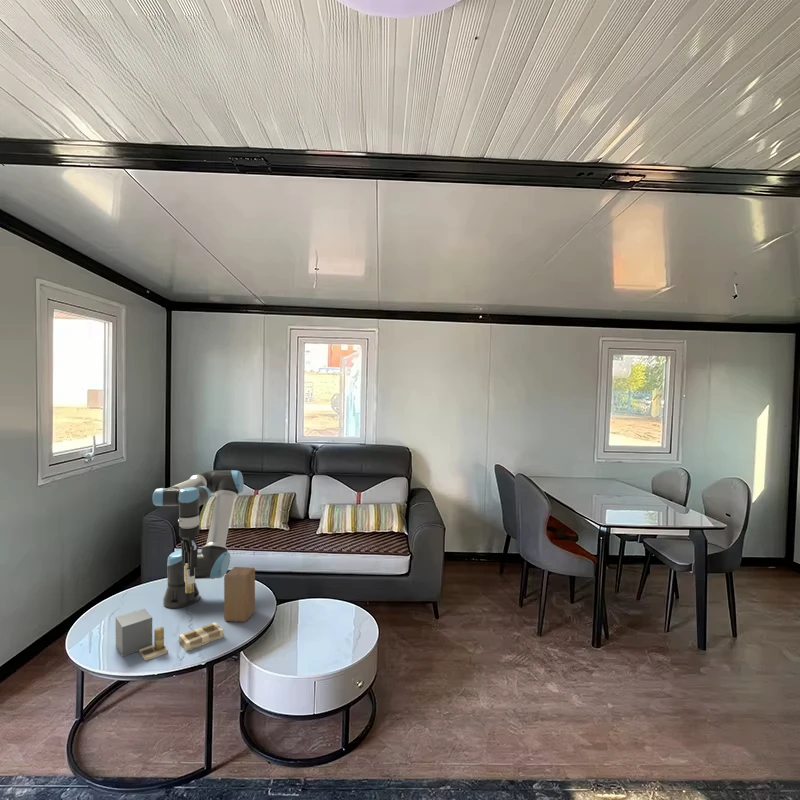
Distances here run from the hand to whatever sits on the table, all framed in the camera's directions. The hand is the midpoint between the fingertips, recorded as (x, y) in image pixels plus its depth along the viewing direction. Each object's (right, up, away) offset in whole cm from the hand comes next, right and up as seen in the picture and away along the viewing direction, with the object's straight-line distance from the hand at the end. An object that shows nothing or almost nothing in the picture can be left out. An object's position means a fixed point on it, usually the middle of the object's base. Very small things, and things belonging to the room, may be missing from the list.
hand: (189, 581), depth 183 cm
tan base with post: (-5, -19, -18) cm, 27 cm away
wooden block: (+18, -19, +9) cm, 28 cm away
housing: (-15, -19, -13) cm, 28 cm away
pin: (0, -4, 0) cm, 4 cm away
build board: (+9, -19, -9) cm, 23 cm away
